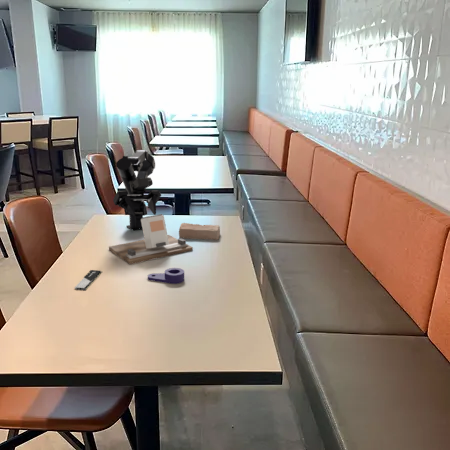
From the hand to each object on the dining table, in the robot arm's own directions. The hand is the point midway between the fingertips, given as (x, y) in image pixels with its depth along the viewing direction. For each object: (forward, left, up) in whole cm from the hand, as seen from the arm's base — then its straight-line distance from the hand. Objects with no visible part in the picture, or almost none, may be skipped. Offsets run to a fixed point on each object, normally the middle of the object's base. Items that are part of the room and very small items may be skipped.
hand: (145, 214), depth 181 cm
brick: (+3, +23, -13) cm, 27 cm away
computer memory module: (+21, -32, -13) cm, 40 cm away
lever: (+34, -11, -13) cm, 38 cm away
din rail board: (+7, -2, -12) cm, 14 cm away
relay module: (+13, -2, -9) cm, 16 cm away
